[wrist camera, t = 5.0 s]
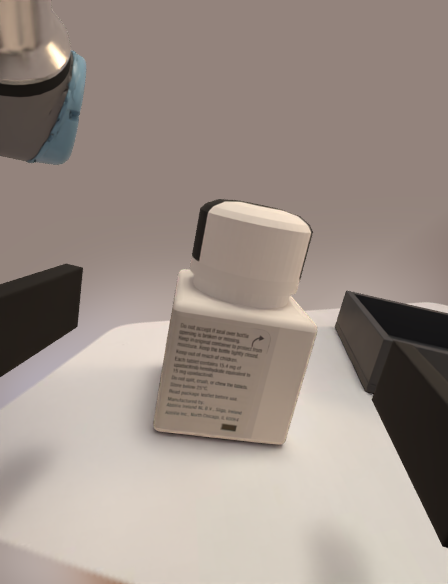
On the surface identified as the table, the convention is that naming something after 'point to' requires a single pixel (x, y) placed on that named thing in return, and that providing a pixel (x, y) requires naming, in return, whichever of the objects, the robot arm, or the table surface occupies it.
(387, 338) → the tub
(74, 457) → the table surface
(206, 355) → the container
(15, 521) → the table surface
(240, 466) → the table surface
